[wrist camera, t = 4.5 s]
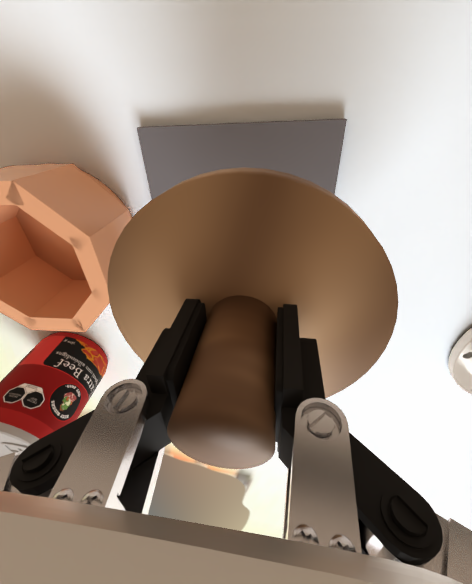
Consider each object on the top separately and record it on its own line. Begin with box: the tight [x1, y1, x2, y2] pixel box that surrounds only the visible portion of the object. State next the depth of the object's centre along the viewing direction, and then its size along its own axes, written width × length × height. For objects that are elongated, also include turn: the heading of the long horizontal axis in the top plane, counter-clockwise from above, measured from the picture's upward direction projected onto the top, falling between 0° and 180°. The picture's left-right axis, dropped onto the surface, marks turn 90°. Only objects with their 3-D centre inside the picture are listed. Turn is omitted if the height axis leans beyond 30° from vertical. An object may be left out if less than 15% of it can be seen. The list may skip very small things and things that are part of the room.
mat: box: [137, 119, 347, 200], centre depth 20 cm, size 13×13×1 cm
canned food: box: [0, 332, 108, 457], centre depth 27 cm, size 8×8×11 cm
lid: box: [107, 167, 398, 469], centre depth 10 cm, size 12×12×6 cm
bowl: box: [0, 163, 132, 332], centre depth 20 cm, size 11×11×6 cm
